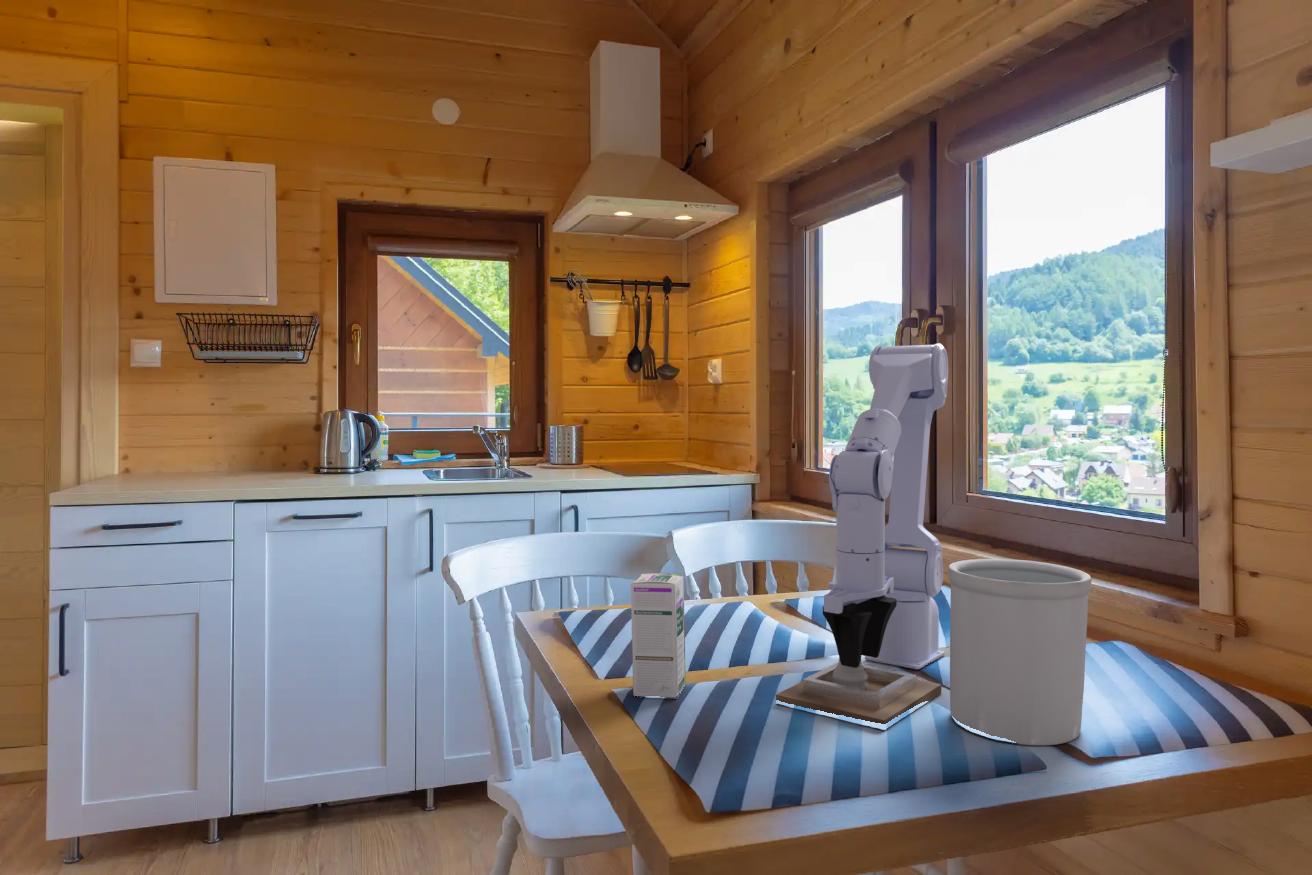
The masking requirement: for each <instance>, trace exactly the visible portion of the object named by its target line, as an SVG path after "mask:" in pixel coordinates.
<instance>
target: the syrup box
mask: <svg viewBox="0 0 1312 875" xmlns="http://www.w3.org/2000/svg"><path fill="white" fill-rule="evenodd" d="M684 585H685V584H684V576H683V575H682V574H678V573H677V574H676V573H669V572H668V573H666V572H661V573H659V572H655V573H654V572H653V573H641V574H640V576H639V577H638V578H636V579H634V581H633V582H631V584H630V601H631V602H630V605H631V608H630V610H631V611H630V612H631V613H630V614H631V651H632V653H631V655H632V656H631V657H632V690H633V691H632V692H633V693H632V694H633V696H634V697H635V696H637V697H636V698H639V697H638V696H643V697H644V696H660V697H676V696H678V695H679V693H680V694H682V692H681V691H683V690H682V689H684V688H685V687H686V685H687V683H686V681H687V680H686V678H687V677H686V674H687V673H686V634H685V633H686V632H685V629H686V628H685V595H684V594H685V593H684V592H685V591H684V590H685V589H684V588H685V586H684ZM683 687H684V688H683ZM679 696H680V695H679ZM679 696H678V697H679Z"/></svg>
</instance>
